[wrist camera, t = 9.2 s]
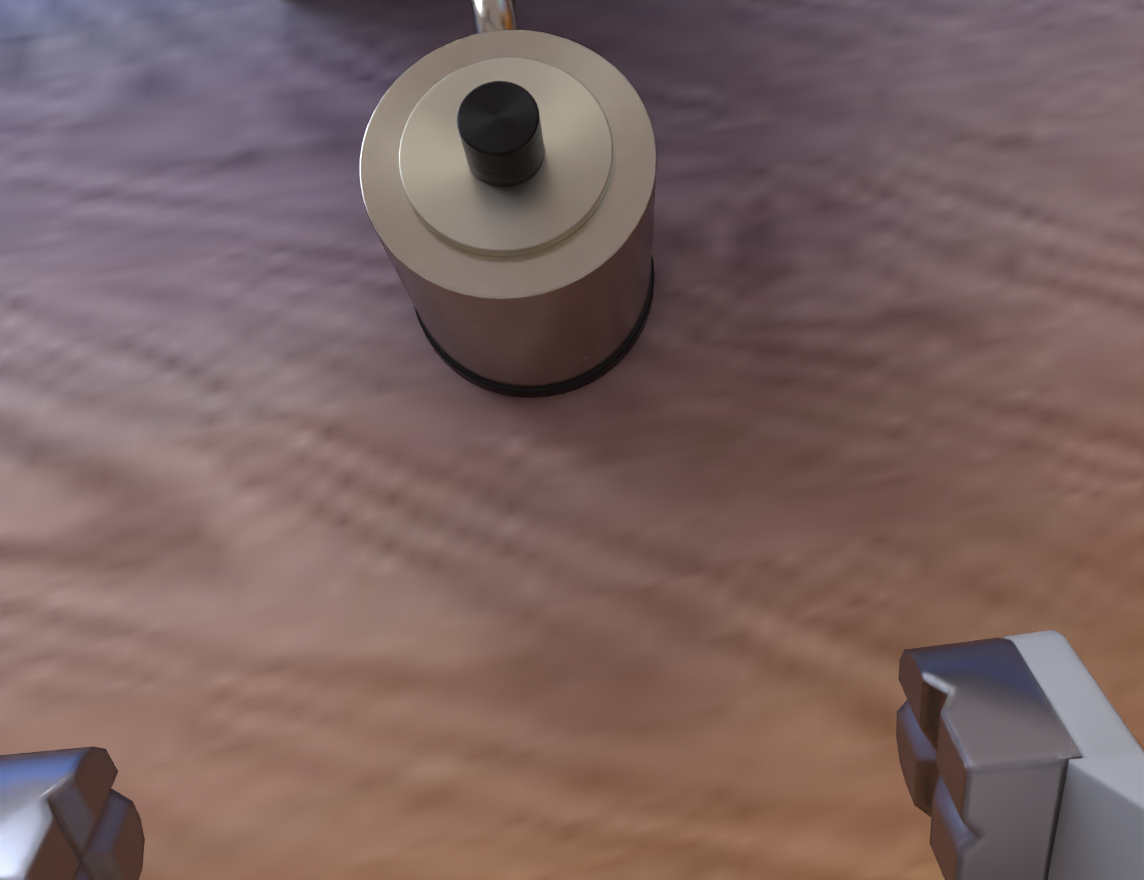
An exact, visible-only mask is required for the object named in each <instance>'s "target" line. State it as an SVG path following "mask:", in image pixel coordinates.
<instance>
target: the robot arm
mask: <svg viewBox="0 0 1144 880" xmlns="http://www.w3.org/2000/svg"><path fill="white" fill-rule="evenodd" d="M899 681H900V684H901V686H902V688H903V690H904V693H905V695H906V697H907V701H906V702H905V703H904V704H903V705H902V706H901V707H900V708H899V710H898V711H897V721H896V738H897V745H898V753H899V760H900V765H901V768H902V772H903V775H904V779H905V782H906V785H907V788H908V790H909V793H910V795H911V798H912V801H913V803H914V805H915V806H916V807H918V808H919V809H920V810H922V811H923V812H925V813H926V814H927V815H929V816H930V817H931V830H930V845H931V848H932V850H933V852H934V855H935V857H936V860H937V862H938V864H939V867H940V869H941V872H942V874H943V876H944V879H945V880H1144V750H1143V749H1142V748H1141V746H1140V745H1139V743H1138V742H1137V740H1136V739H1135V737H1134V736H1133V735H1132V733H1131V732H1130V730H1129V729H1128V727H1127V726H1126V724H1125V723H1124V721H1123V720H1122V719H1121V717H1120V716H1119V714H1118V713H1117V711H1116V710H1115V708H1114V707H1113V706H1112V704H1111V703H1110V701H1109V700H1108V698H1107V697H1106V695H1105V694H1104V693H1103V691H1102V690H1101V688H1100V687H1099V685H1098V684H1097V682H1096V681H1095V680H1094V678H1093V677H1092V675H1091V674H1090V672H1089V671H1088V669H1087V668H1086V667H1085V665H1084V664H1083V662H1082V661H1081V659H1080V658H1079V656H1078V655H1077V653H1076V652H1075V651H1074V649H1073V648H1072V646H1071V645H1070V643H1069V642H1068V640H1067V639H1066V638H1065V636H1064V635H1062V634H1060V633H1059V632H1057V631H1056V630H1049V631H1042V632H1034V633H1027V634H1019V635H1012V636H1005V637H1003V638H991V639H983V640H975V641H967V642H960V643H952V644H944V645H936V646H928V647H921V648H913V649H905V650H904V651H903V653H902V656H901V658H900V665H899ZM117 773H118V770H117V768H116V767H115V765H114V763H113V761H112V759H111V757H110V756H109V754H108V752H107V750H106V749H104V748H98V747H84V748H73V749H62V750H52V751H41V752H31V753H20V754H9V755H0V880H139V878H140V875H141V872H142V866H143V854H144V841H145V839H144V834H143V829H142V823H141V818H140V816H139V814H138V812H137V810H136V807H135V805H134V803H133V801H131V800H130V799H128V798H126V797H125V796H123V795H121V794H120V793H118V792H116V791H115V790H113V789H111V787H112V785H113V783H114V780H115V778H116V775H117Z"/></svg>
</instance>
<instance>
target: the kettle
mask: <svg viewBox="0 0 1144 880" xmlns="http://www.w3.org/2000/svg"><path fill="white" fill-rule="evenodd" d="M471 2H472V9H473V15H474V21H475V28H476V34H473V35H470V36H467V37H463V38H460V39H457V40H455V41H452V42H450V43H448V44H445V45H443V46H441V47H439V48H437V49H435V50H434V51H432V52H430V53H429V54H427V55H425V56H423V57H422V58H421V59H419V60H418V61H417V62H415V63H414V64H413V65H412V66H410V67H409V68H408V69H407V70H406V71H405V72H404V73H403V74H402V75H400V76H399V77H398V78H397V79H396V80H395V81H394V83H393V84H392V85H391V86H390V88H389V89H388V90H387V91H386V93H385V94H384V95H383V97H382V98H381V100H380V102H379V103H378V105H377V107H376V108H375V110H374V112H373V114H372V117H371V119H370V121H369V123H368V126H367V128H366V132H365V135H364V139H363V142H362V147H361V154H360V161H359V181H360V188H361V194H362V199H363V202H364V206H365V209H366V212H367V215H368V217H369V219H370V221H371V224H372V226H373V228H374V230H375V232H376V234H377V236H378V238H379V240H380V241H381V243H382V245H383V247H384V249H385V251H386V253H387V255H388V257H389V259H390V260H391V262H392V264H393V266H394V268H395V270H396V272H397V274H398V276H399V277H400V279H401V281H402V283H403V285H404V287H405V289H406V291H407V293H408V295H409V296H410V298H411V300H412V302H413V304H414V307H415V310H416V314H417V317H418V320H419V322H420V324H421V327H422V329H423V331H424V333H425V335H426V337H427V339H428V340H429V342H430V344H431V345H432V347H433V348H434V350H435V351H436V353H437V354H438V355H439V356H440V357H441V358H442V360H443V361H444V362H445V363H446V364H447V365H448V366H449V367H451V368H452V369H453V370H454V371H455V372H456V373H457V374H459V375H460V376H462V377H463V378H465V379H466V380H468V381H470V382H471V383H473V384H475V385H478V386H480V387H482V388H484V389H487V390H490V391H493V392H496V393H499V394H503V395H509V396H514V397H528V398H534V397H548V396H553V395H558V394H563V393H566V392H569V391H573V390H576V389H578V388H581V387H583V386H585V385H587V384H589V383H591V382H593V381H595V380H596V379H598V378H599V377H601V376H603V375H604V374H606V373H607V372H608V371H609V370H611V369H612V368H613V367H614V366H615V365H617V364H618V363H619V362H620V361H621V360H622V359H623V357H624V356H625V355H626V354H627V353H628V352H629V351H630V349H631V348H632V347H633V345H634V344H635V342H636V341H637V339H638V338H639V336H640V334H641V332H642V330H643V328H644V326H645V324H646V321H647V318H648V315H649V312H650V308H651V303H652V299H653V287H654V265H653V258H652V240H653V222H654V205H655V187H656V170H657V150H656V139H655V135H654V131H653V126H652V123H651V120H650V117H649V115H648V112H647V110H646V107H645V105H644V104H643V102H642V100H641V98H640V96H639V95H638V93H637V91H636V90H635V89H634V87H633V86H632V85H631V83H630V82H629V81H628V79H627V78H626V77H625V76H624V75H623V74H622V73H621V72H620V71H619V70H618V69H617V68H616V67H615V66H614V65H613V64H611V63H610V62H609V61H608V60H606V59H605V58H604V57H602V56H601V55H600V54H598V53H596V52H595V51H593V50H591V49H589V48H588V47H586V46H584V45H582V44H580V43H577V42H575V41H573V40H570V39H568V38H565V37H561V36H558V35H554V34H551V33H546V32H540V31H534V30H519V29H518V23H517V15H516V8H515V0H471Z"/></svg>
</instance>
